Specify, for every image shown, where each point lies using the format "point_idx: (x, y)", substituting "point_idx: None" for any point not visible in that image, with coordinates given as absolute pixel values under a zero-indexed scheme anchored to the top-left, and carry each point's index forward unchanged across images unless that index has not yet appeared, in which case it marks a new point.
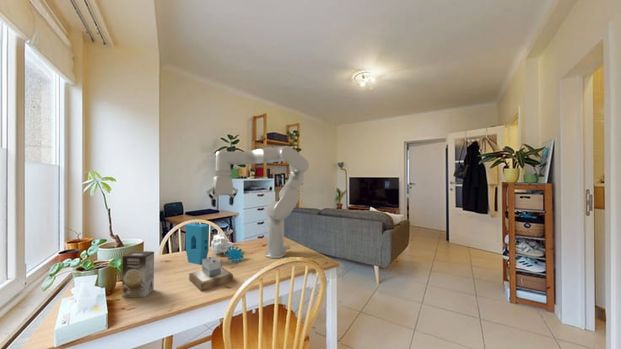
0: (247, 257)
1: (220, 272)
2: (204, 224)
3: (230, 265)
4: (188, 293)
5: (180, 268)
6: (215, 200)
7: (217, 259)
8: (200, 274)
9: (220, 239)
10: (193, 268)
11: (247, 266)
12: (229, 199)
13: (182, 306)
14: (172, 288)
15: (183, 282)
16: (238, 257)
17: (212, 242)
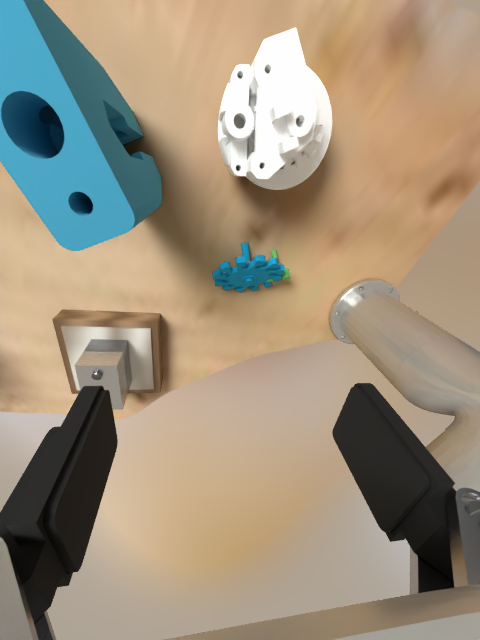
0: (295, 267)
1: (130, 383)
2: (106, 173)
3: (211, 291)
4: (49, 374)
5: None
6: (76, 556)
7: (118, 394)
8: (82, 350)
9: (250, 169)
10: None
11: (242, 331)
12: (401, 458)
13: (30, 411)
14: (9, 328)
15: (43, 312)
16: (252, 285)
17: (227, 100)
